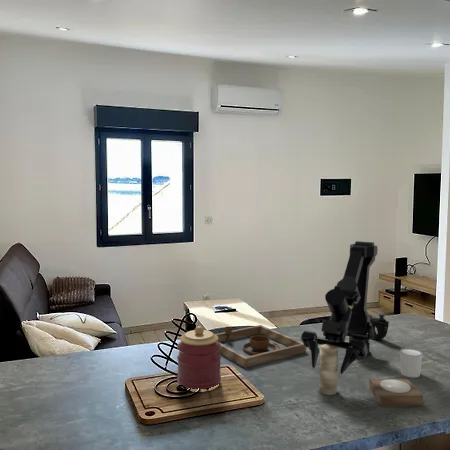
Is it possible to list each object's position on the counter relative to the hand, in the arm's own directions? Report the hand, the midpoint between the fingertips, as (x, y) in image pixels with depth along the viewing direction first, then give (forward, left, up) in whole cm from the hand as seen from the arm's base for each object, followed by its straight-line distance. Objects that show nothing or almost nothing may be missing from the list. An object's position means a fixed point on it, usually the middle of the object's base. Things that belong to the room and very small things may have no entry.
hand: (326, 370), depth 137 cm
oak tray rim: (-41, +4, -7) cm, 41 cm away
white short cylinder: (+4, +32, -7) cm, 33 cm away
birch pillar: (-1, +1, -7) cm, 7 cm away
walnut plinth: (+12, +14, -7) cm, 20 cm away
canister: (-25, -28, -7) cm, 38 cm away
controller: (-25, +50, -7) cm, 56 cm away
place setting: (-42, +6, -7) cm, 43 cm away
